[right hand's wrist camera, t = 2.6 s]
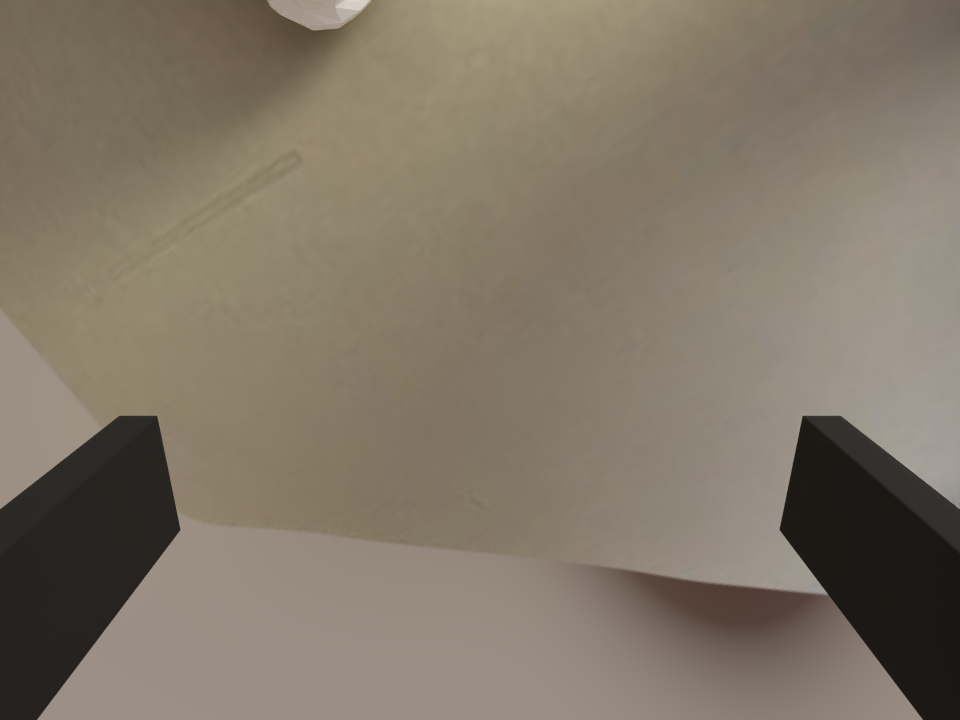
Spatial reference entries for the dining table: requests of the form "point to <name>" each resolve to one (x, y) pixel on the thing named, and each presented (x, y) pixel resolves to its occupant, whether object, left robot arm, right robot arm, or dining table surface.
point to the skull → (319, 12)
